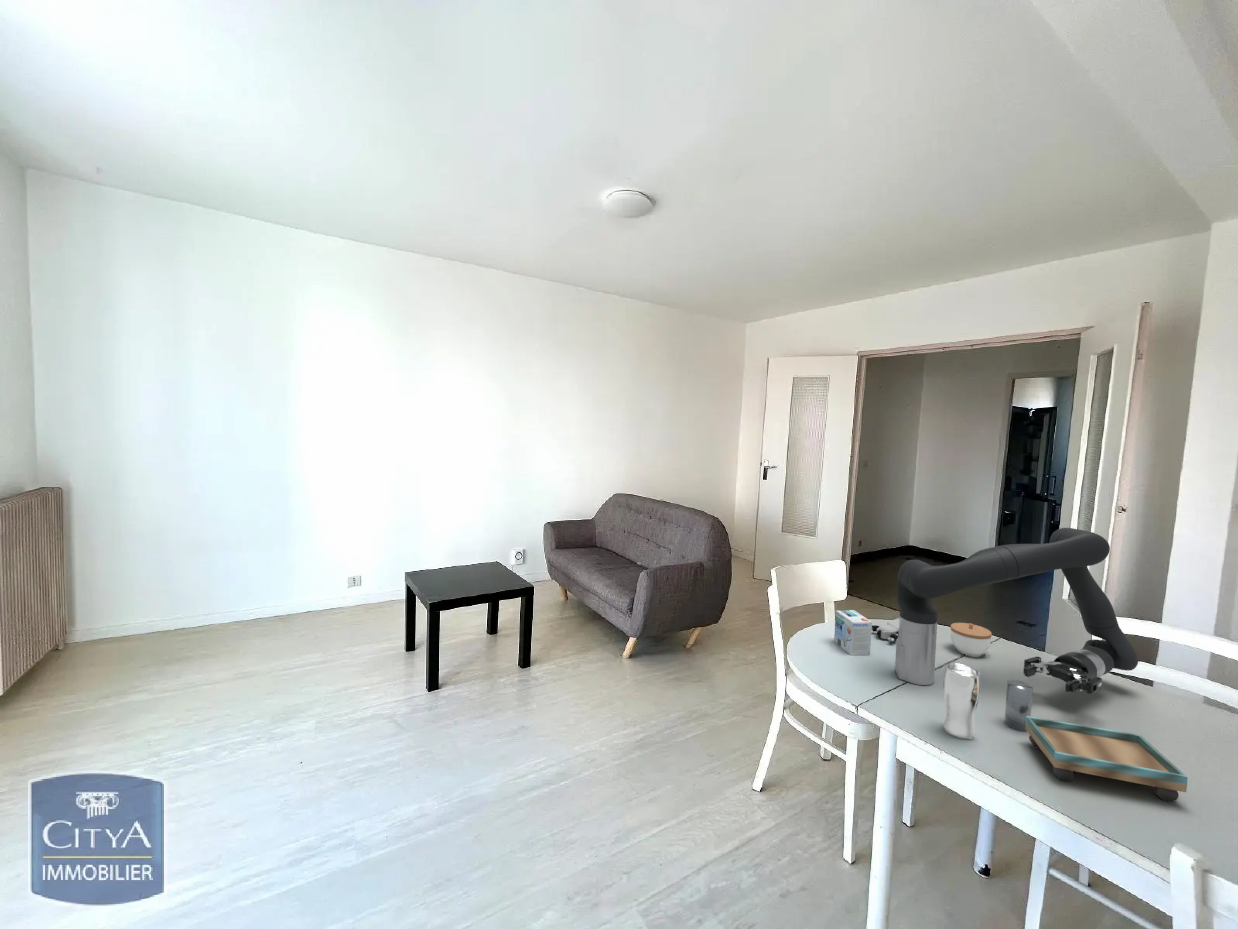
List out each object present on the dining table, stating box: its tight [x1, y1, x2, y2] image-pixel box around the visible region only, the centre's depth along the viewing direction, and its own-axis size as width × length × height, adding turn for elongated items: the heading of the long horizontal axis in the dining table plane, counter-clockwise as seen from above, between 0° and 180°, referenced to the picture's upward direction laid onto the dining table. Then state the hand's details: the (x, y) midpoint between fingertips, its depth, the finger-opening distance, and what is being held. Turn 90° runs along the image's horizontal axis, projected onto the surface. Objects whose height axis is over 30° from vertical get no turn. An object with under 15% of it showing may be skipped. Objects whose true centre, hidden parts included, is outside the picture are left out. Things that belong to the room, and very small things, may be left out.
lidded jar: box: [949, 622, 993, 658], centre depth 160 cm, size 11×11×9 cm
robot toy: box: [871, 617, 900, 643], centre depth 172 cm, size 12×4×15 cm
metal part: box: [1003, 679, 1034, 732], centre depth 120 cm, size 5×5×10 cm
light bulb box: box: [833, 609, 873, 656], centre depth 162 cm, size 11×7×11 cm, turn 5°
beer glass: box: [942, 662, 981, 740], centre depth 117 cm, size 7×7×15 cm
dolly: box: [1025, 716, 1188, 803], centre depth 104 cm, size 20×14×6 cm
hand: (1046, 680), depth 125 cm, fingers open, 8 cm apart
